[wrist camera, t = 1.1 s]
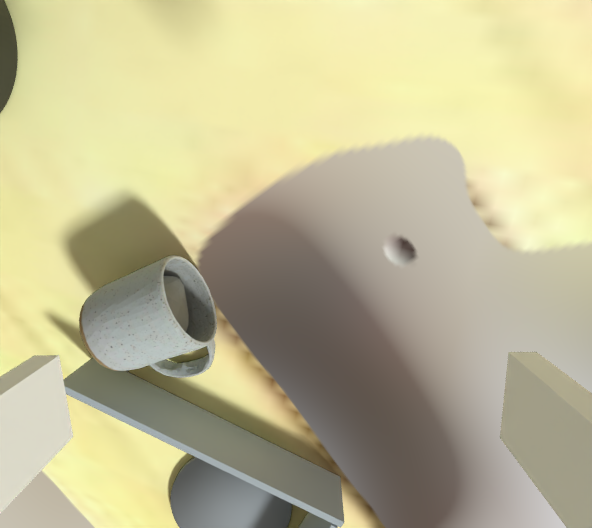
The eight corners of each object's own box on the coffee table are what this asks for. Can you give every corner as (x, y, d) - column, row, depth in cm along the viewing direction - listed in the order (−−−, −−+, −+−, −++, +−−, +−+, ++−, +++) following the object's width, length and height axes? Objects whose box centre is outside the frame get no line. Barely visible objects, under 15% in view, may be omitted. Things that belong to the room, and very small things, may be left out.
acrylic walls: (43, 475, 38) (2, 518, 33) (95, 355, 35) (58, 383, 30) (271, 583, 39) (265, 640, 34) (340, 476, 36) (344, 522, 31)
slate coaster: (154, 518, 38) (151, 523, 37) (202, 427, 36) (200, 431, 35) (258, 568, 38) (258, 574, 38) (313, 481, 36) (313, 486, 35)
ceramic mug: (108, 282, 33) (48, 311, 26) (188, 246, 32) (150, 265, 25) (164, 381, 35) (124, 436, 28) (241, 350, 34) (221, 398, 26)
